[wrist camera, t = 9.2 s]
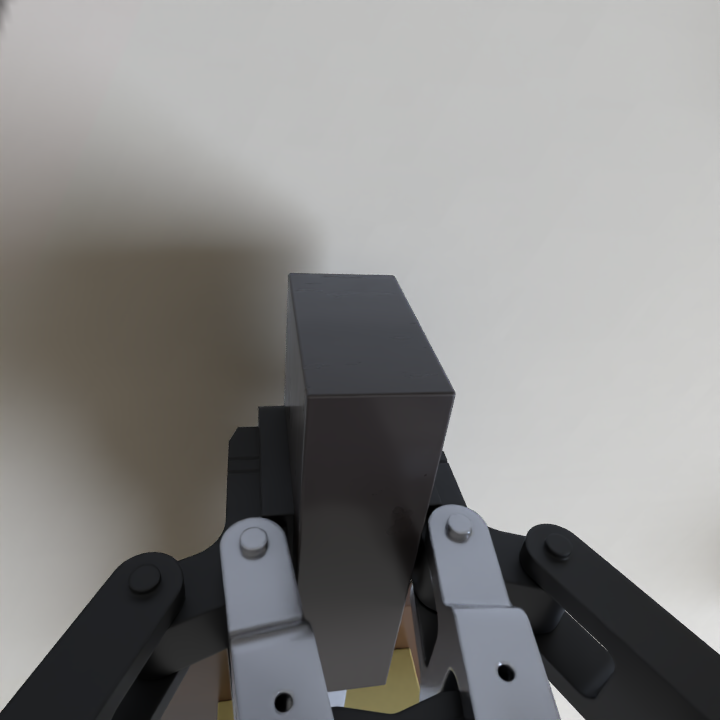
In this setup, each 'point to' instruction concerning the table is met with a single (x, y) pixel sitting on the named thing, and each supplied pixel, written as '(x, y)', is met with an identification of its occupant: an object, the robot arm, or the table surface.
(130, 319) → the table surface
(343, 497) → the knife
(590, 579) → the robot arm
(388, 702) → the butter pat
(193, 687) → the board
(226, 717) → the butter
